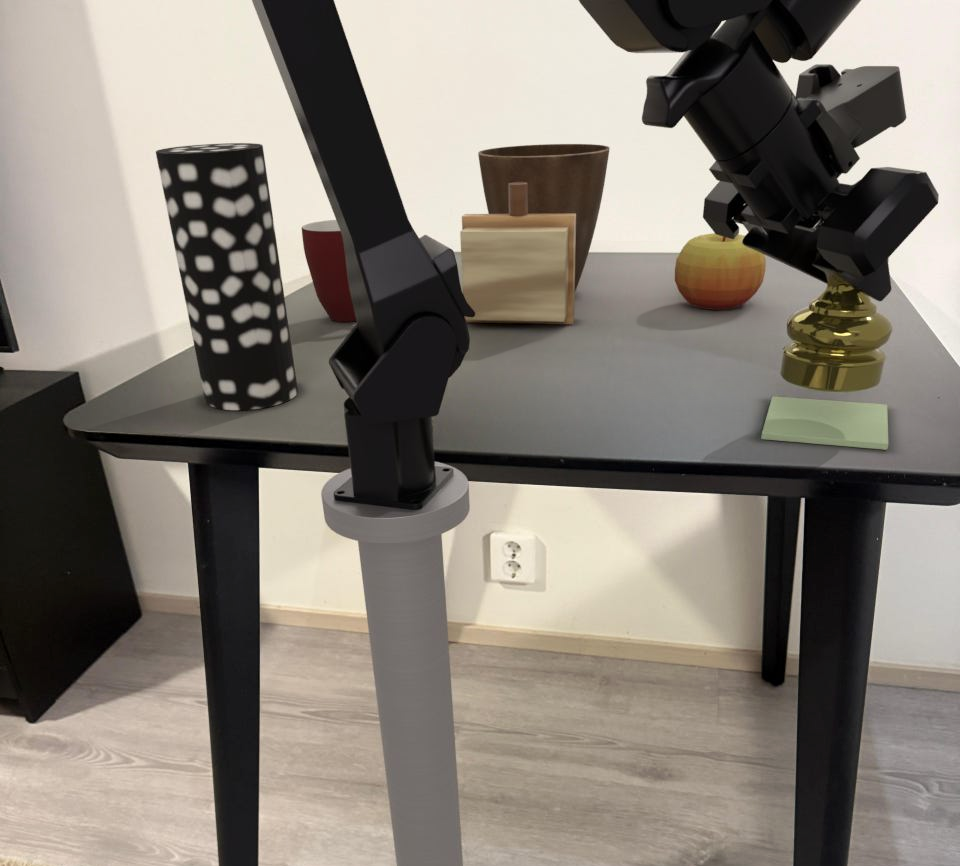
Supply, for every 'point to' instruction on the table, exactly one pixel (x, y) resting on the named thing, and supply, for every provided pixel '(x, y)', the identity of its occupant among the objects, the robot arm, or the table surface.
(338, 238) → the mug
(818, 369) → the brass chess piece
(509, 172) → the flower pot
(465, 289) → the wooden napkin holder
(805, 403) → the mat
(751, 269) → the apple
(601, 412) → the table surface
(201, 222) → the spotted tube
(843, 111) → the robot arm
